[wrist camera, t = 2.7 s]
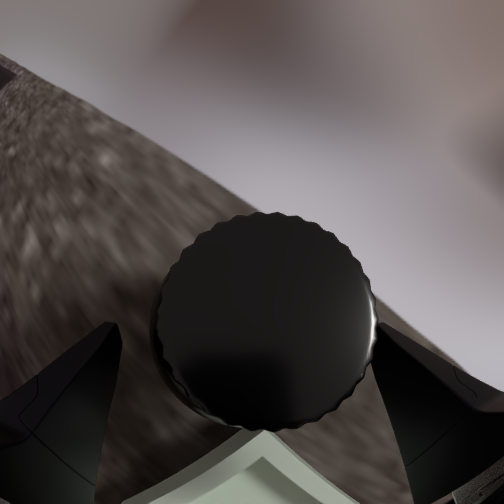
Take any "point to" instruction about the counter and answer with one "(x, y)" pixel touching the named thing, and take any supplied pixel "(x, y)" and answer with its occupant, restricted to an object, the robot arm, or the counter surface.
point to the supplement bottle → (264, 323)
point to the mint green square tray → (246, 477)
